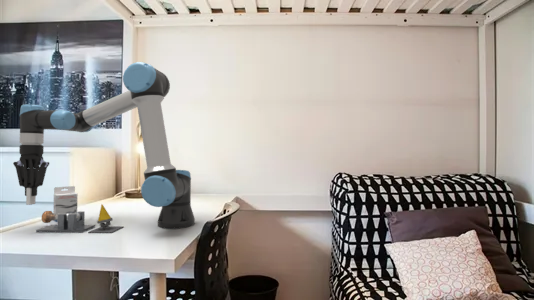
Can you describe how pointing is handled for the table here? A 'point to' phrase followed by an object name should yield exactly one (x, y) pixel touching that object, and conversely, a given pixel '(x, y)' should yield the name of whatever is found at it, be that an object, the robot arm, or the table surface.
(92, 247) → the table surface
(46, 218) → the shaft
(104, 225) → the yellow cone
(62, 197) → the ink box
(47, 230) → the grey vise
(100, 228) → the seat pad
